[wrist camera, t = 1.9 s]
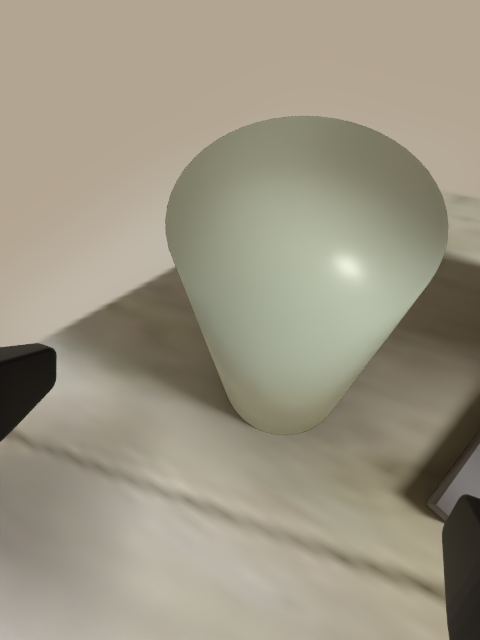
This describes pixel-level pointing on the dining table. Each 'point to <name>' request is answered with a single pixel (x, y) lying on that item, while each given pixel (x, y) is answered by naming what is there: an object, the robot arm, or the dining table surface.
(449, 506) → the walnut overhang
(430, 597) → the dining table surface
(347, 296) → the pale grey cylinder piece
